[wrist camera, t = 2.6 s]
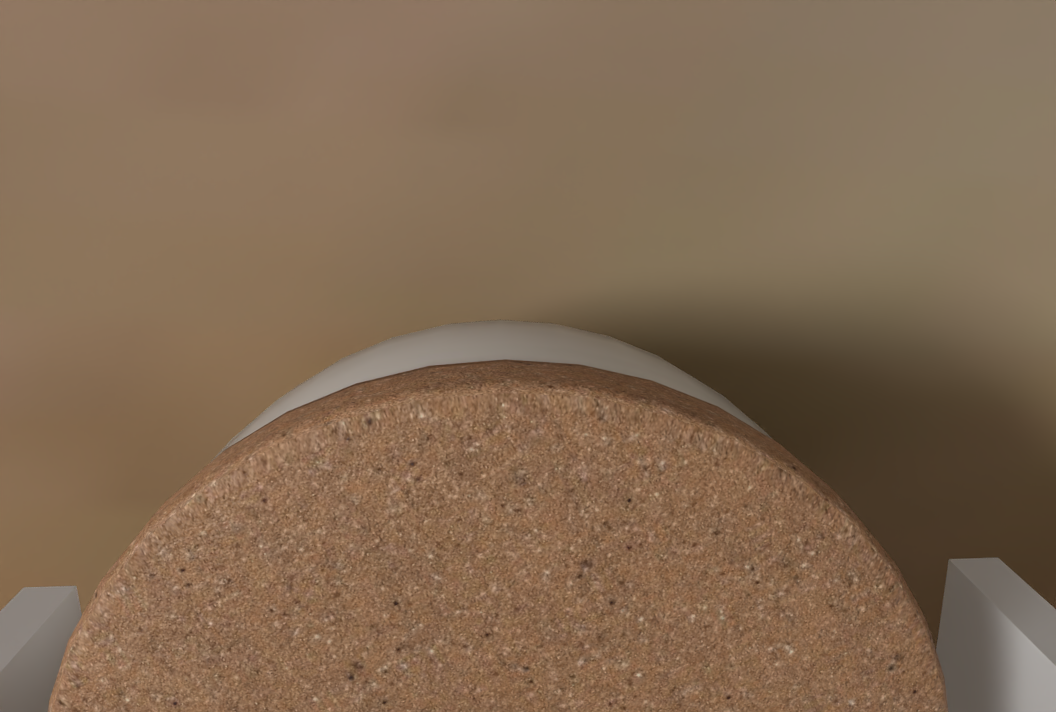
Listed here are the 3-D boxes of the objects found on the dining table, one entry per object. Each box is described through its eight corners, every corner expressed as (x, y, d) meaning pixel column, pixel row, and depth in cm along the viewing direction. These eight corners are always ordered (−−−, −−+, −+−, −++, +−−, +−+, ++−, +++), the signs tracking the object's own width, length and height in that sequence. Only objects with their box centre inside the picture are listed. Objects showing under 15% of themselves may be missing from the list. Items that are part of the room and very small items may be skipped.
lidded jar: (625, 155, 16) (816, 216, 7) (833, 610, 18) (1167, 1089, 9) (124, 413, 16) (-316, 780, 7) (397, 808, 19) (319, 1419, 10)
